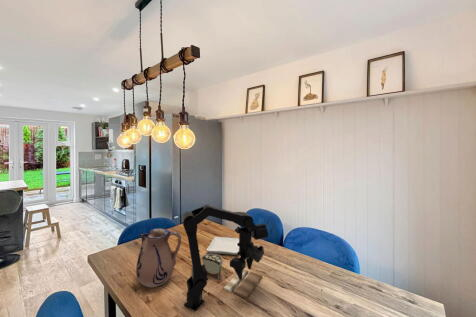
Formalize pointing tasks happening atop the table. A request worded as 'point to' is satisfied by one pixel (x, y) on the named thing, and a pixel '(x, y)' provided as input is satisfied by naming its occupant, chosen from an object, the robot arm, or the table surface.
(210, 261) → the food container
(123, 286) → the table surface
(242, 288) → the board
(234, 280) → the ash board
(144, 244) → the ceramic pitcher
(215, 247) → the salad plate
